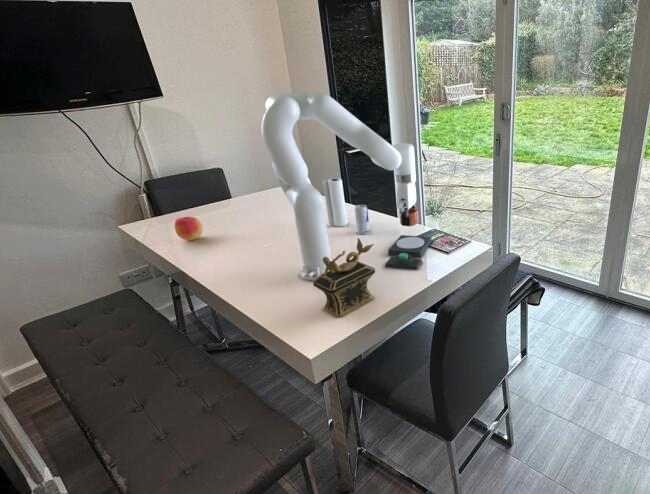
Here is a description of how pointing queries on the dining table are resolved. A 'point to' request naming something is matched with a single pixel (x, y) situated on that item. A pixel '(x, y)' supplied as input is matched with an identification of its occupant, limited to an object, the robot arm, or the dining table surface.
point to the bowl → (412, 216)
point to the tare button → (403, 256)
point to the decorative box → (345, 282)
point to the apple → (188, 228)
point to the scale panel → (404, 263)
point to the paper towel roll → (335, 202)
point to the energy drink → (362, 219)
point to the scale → (410, 246)
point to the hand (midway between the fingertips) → (409, 221)
